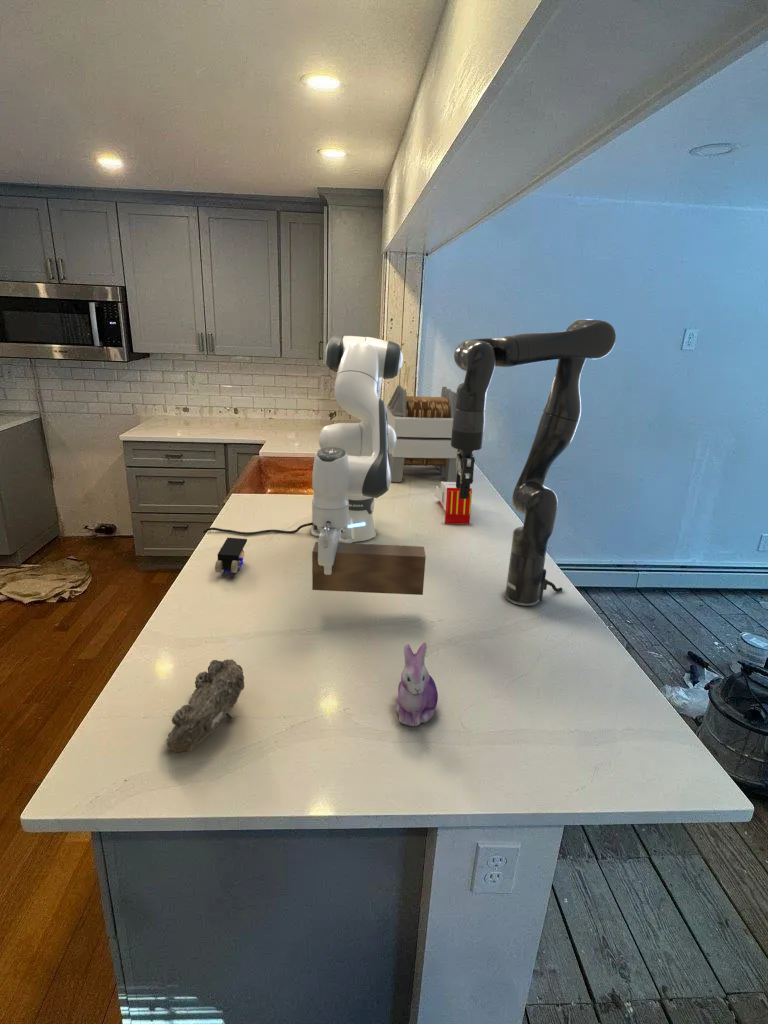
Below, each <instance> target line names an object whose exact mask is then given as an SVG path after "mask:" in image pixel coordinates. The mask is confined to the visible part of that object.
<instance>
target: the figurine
mask: <svg viewBox="0 0 768 1024" xmlns="http://www.w3.org/2000/svg"><path fill="white" fill-rule="evenodd" d="M427 651H428V645H427V642H422V643H421V644H420V646H419V647H418V649H417V651H416V653H414V651H413V649H412V648H411V645H410V644H408V643H405V644H404V646H403V655H404V666H403V668H402V670H401V672H400V682H399V683H398V685H397V686H398V687H397V699H396V704H395V712H396V713H397V715H398V721H399V723H400V724H403V725H405V726H406V725H407V726H410V727H417V726H419V725H421V724H423V723H427V722H428V721H430V719H431V718H432V717H433V716H434V714H435V712H436V709H437V705H438V701H439V694H438V688H437V684H436V682H435V680H434V678H433V676H431V674H430V673H429V671H428V668H427V667H426V663H425V659H426V654H427Z"/></svg>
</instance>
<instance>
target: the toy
mask: <svg viewBox="0 0 768 1024" xmlns="http://www.w3.org/2000/svg"><path fill="white" fill-rule="evenodd" d="M459 495H460V488H456V482H447V481H440V487H439V486H438V485H435V491H434V497H435V498H436V499H437V503H438V504H439V505H440V506H441V508H443V510H444V511H445V515H444V524H448V525H449V524H451V525H470V522H471V521H470V520H471V515H472V513H471V512H472V497H473V489H472V488H471V487H470V492H469V498H468V499H461V498H460V496H459Z"/></svg>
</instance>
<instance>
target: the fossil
mask: <svg viewBox="0 0 768 1024" xmlns="http://www.w3.org/2000/svg"><path fill="white" fill-rule="evenodd" d="M243 670H244V669H243V667H242V665H240V664H237V662H236V661H235V660H234V659H232V658H231V659H227V658H226V659H224V660H223V661H222V660H217V659H212V660H211V661H210V663H209V665H208V666H207V671H201V672H199V673H198V674H197V675H196V676H195V680H194V684H195V685H194V687H195V689H194V690H193V693H192V694H191V697H190V698H189V700H188V704H184V705H182V706H181V707H180V709H177V710H176V711H175V713H174V715H173V716H172V718H171V723H172V724H173V727H172V730H171V731H170V732H168V734H167V738H166V741H167V742H166V745H167V749H168V750H169V751H173V752H174V753H176V754H178V753H182V752H188V751H189V752H192V751H193V750H195V748H196V747H197V746H199V744H200V743H201V742H203V741H204V740H205V739H206V738H207V737H208V736H209V735H210V734H211V733H212V732H214V730H215V729H217V727H218V726H219V724H220V722H221V721H222V720H223V719H224V718H225V716H226V717H227V719H229V720H233V717H232V715H230V714H229V710H230V709H231V708H234V706H235V704H236V703H237V702H238V699H239V697H240V695H241V693H242V691H243V690H245V689H244V688H245V675H244V671H243Z"/></svg>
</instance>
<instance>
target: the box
mask: <svg viewBox="0 0 768 1024" xmlns="http://www.w3.org/2000/svg"><path fill="white" fill-rule="evenodd" d="M324 548H325V547H324ZM426 557H427V556H426V548H425V546H419V545H418V546H417V545H397V544H376V543H356V542H353V543H343V542H338V547H337V551H336V555H335V559H334V564H333V565H332V573H331V575H326V574H324V566H321V565H319V564H318V541H315V542H314V545H313V549H312V551H311V558H312V559H311V567H312V568H311V571H312V572H311V576H312V577H311V579H312V580H311V584H312V586H311V587H312V588H311V589H312V591H326V592H345V593H346V592H348V593H367V594H368V593H371V594H389V595H390V594H392V595H413V596H414V595H416V596H423V595H424V586H425V585H424V583H425V573H426V572H425V571H426V559H427V558H426Z"/></svg>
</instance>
